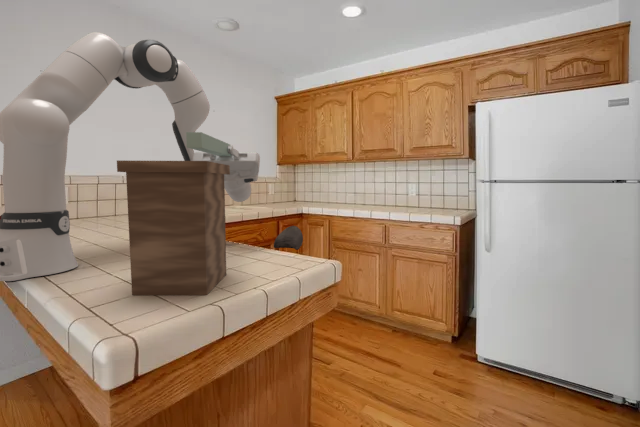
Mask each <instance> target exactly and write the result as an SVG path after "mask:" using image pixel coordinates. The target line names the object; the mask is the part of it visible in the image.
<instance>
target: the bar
mask: <svg viewBox="0 0 640 427" xmlns="http://www.w3.org/2000/svg"><path fill="white" fill-rule="evenodd" d="M186 139H187V148H190V149H193V150H195V151H197V152H206V153H210V154H214V155H218V156H231V154H229V153H228V152H227V146H232V145H231V144H230V143H228V142H225V141H223V140H221V139H218V138H215V137H213V136H212V135H209V134H207V133H204V132H201V131H195V132H186Z"/></svg>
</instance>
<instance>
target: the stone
mask: <svg viewBox="0 0 640 427" xmlns="http://www.w3.org/2000/svg"><path fill="white" fill-rule="evenodd" d="M303 236H304V235H303V233H302V231H301V229H300V227H298V226H296V225H290V226H288V227H286V228H284V230H282V231H281V232H280V233H279V234H277V236H276V238H275V239H274V242H273V248H274V249H280V248H281V249H295V250H297V251H298V250H300V248H301V247H302V246H303V242H304V241H303V240H304V237H303Z"/></svg>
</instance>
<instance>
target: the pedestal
mask: <svg viewBox="0 0 640 427" xmlns="http://www.w3.org/2000/svg"><path fill="white" fill-rule="evenodd" d="M116 169H117V170H116V171H117V173H126V174H125V177H126V178H125V179H126V197H127V220H128V238H129V239H128V240H129V259H130V280H131V282H130V284H131V295H132V296H207V295H208V294H209V293H210V292H211V291H212V290H213V289H214V288H216V286H218V284H219V283H220V282H221V281H222V280H223V279H224V278H225V277H226V276H227V245H226V244H227V241H226V203H225V200H226V199H225V198H226V195H225V193H226V190H225V188H224V174H230V166H229V165H224V164H219V163H214V162H209V161H184V160H116Z"/></svg>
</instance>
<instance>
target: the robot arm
mask: <svg viewBox="0 0 640 427" xmlns="http://www.w3.org/2000/svg"><path fill="white" fill-rule="evenodd" d="M114 80H115V81H116V82H118V83H119V84H121V85H122V86H125V87H127V88H130V89H142V88H147V87H152V86H155V85H156V86H157V87H158V88H159V89H161V91H163V93H164V94H165V96H166V98H167V99H168V102H169V103H170V106H171V107H172V110H173V113H174V120H173V122H172V124H171V125H172V130H173V134H174V137H175V139H176V143H177V145H178V148H179V150H180V152H181V156H182V158H183V161H209V162H214V163H219V164H224V165H229V166H230V174H224V189H225V193H227V195H228V196H229V198H230V199H231V200H232V201H234V202H238V203H242V202H245V201H247V200H248V199H249V198H250V197H251V195H252V186H251V185H252V184H251V183H253V182H254V183H255V182H257V181H258V178H259V173H260V162H261V157H260V153H257V152H256V151H253V152H251V151H250V152H249V151H247V152H246V151H244V152H243V151H242V152H241V151H238V150H237V149H235V148H234V146H233V145H231V146H227V152H228V153H229V154H231V156H218V155H214V154H210V153H206V152H202V151H196V152H195V151H194V149H190V148H187V139H186V132H197V130H198V129H199V128H200V127H201V125H203V124H204V123H205V121H206V120H207V119H208V116H209V114H210V108H211V107H210V106H211V105H210V101H209V98H208V97H207V95H206V93H205V91H204V89H203V87H202V85H201V83H200V82H199V79H198V78H197V77H196V75H195V73H194V72H193V71H192V70H191V68H190V67H189V66H188V64H187V63H186V62H185V61H184V60H182V59H177V58H176V56H174V55H173V53H172V51H170V49H169V48H168V47H167V46H166V45H164V44H163V43H162V42H160V41H158V40H155V39H142V40H140V41H138V42H136V43H132V44H130V45H127V46H121V45H120V44H119V43H118V42H117V41H116V40H115V39H113V38H112V37H110V35H108V34H105V33H102V32H99V31H94V32H93V31H92V32H90V33H88V34H86V35H84V36H82V37H80V38H79V39H78V40H76V41H74V42H73V43H72V44H70V46H68V47H67V48H66V49H65V50H64V51H63V52H62V53H60V55H59V56H58V57H56V59H54V61H52V62H51V63H50V64H49V65H48V67H46V68H45V69H44V70H43V71H42V72H41V73H40V74H39V75H38V76H37V77H36V78H35V79H34V80H33V81H31V83H30V84H28V85H27V87H25V88H24V89H23V90H22V91H21V92H20V93H19V94H18V95H17V96H16V97H14V99H13V100H12V101H11V102H10V103H9V104H7V106H5V107H4V108H3V109H2V110H1V111H0V143H1V144H3V160H2V161H3V164H2V175H1V176H2V177H1V178H2V179H1V180H2V191H3V203H4V212H3V213H2V214H1V215H0V282H12V281H13V282H14V281H21V280H24V279H25V280H26V279H29V278H34V277H35V278H36V277H41V276H42V277H43V276H48V275H54V274H58V273H59V274H60V273H64V272H66V271H70V270H73V269H76V268H77V267H78V266H79V263H78V261H77V259H76V256H75V254H74V251H73V248H72V243H71V238H70V237H71V236H70V226H71V224H70V223H71V222H70V214H69V212H70V211H69V210H68V209H67V198H66V197H67V196H66V186H65V185H66V184H65V182H66V181H65V179H66V178H65V176H66V175H65V174H66V165H67V156H68V139H69V132H70V125H72V124H73V123H74V122H75V121H76V120H77V119H78V118H79V117H80V116H81V115H82V114H84V112H86V111H87V110H89V108H90V107H91V106H92V105H93V104H94V103H95V101H96V100H97V99H98V98H99V97H100V96H101V95H102V94H103V93H104V91H105V90H106V89H107V88H108V87H109V85H111V83H112V82H113V81H114Z"/></svg>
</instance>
